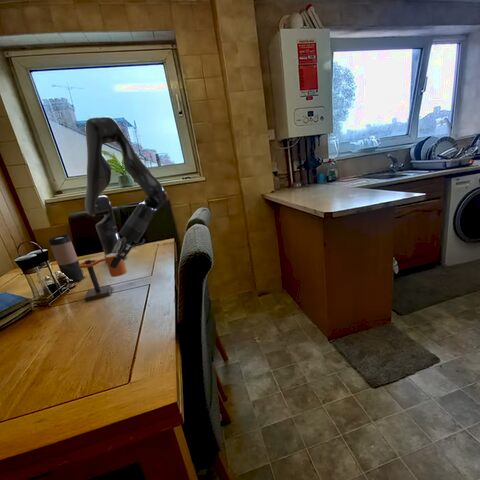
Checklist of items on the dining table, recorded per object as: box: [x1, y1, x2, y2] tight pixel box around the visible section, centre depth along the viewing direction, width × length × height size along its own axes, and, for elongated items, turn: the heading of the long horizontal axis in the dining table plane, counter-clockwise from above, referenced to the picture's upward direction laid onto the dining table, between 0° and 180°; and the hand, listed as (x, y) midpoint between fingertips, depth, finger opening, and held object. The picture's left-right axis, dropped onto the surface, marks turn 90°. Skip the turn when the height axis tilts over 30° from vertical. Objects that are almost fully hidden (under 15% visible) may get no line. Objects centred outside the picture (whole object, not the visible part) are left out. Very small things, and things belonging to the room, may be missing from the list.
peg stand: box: [84, 259, 113, 302], centre depth 105 cm, size 8×8×14 cm
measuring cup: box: [79, 252, 128, 278], centre depth 106 cm, size 14×6×8 cm, turn 127°
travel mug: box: [48, 234, 85, 284], centre depth 122 cm, size 8×8×20 cm
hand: (110, 265), depth 107 cm, fingers closed on measuring cup, 6 cm apart
